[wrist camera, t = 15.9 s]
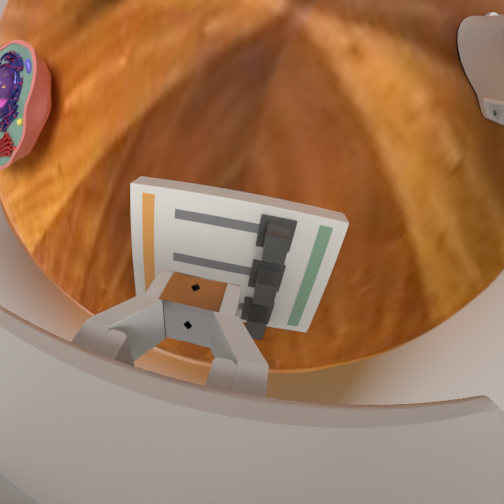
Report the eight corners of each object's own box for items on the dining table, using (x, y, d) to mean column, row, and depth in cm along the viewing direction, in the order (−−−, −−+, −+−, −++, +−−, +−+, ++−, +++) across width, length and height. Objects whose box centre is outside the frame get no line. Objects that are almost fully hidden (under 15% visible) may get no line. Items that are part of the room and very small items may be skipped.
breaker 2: (297, 220, 31) (299, 237, 27) (289, 251, 33) (290, 270, 29) (262, 213, 31) (260, 229, 27) (255, 244, 33) (252, 263, 29)
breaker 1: (274, 301, 37) (273, 322, 34) (268, 322, 39) (267, 343, 36) (245, 296, 37) (241, 317, 33) (240, 317, 39) (237, 338, 35)
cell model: (-4, 127, 29) (-50, 144, 19) (40, 26, 20) (-12, 24, 11) (41, 178, 34) (-8, 206, 24) (96, 68, 25) (36, 67, 16)
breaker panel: (343, 213, 33) (349, 223, 31) (305, 318, 42) (306, 332, 40) (141, 176, 33) (130, 183, 30) (143, 286, 42) (136, 298, 39)
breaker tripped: (285, 265, 34) (286, 284, 30) (278, 290, 36) (278, 311, 32) (253, 259, 34) (250, 278, 30) (248, 285, 36) (244, 305, 32)
